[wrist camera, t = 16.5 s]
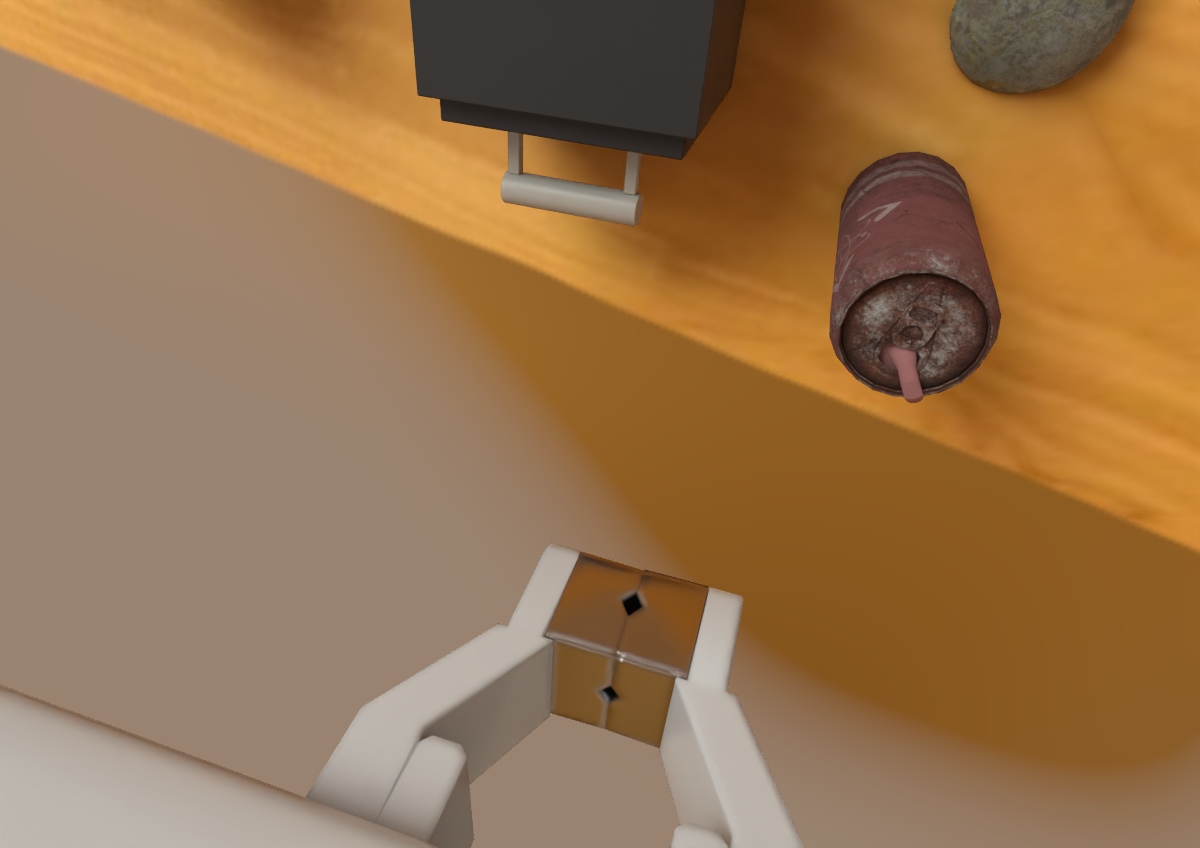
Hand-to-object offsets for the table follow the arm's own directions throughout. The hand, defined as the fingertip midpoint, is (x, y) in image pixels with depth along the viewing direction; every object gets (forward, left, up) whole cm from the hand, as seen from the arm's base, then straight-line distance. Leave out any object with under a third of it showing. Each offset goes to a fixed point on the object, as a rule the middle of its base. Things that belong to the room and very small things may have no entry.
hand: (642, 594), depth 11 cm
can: (-8, -1, -33) cm, 34 cm away
